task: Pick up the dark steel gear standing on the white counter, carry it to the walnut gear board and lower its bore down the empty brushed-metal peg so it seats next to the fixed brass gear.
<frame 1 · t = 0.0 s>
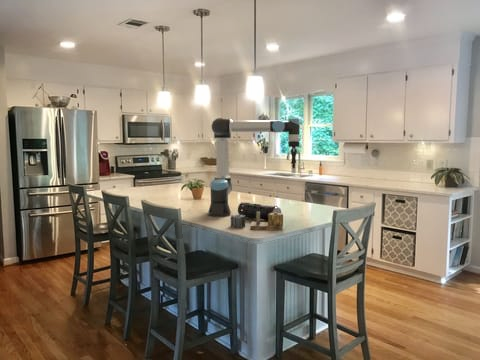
hand: (293, 172, 268), 28 cm above the table, fingers open, 13 cm apart
gear board: (266, 227, 225), on the table
muzzle brake: (259, 220, 247), on the table
steel gear: (238, 226, 230), on the table
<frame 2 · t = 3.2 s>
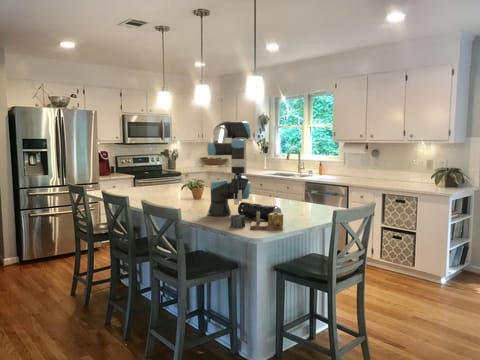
hand: (237, 202, 228), 14 cm above the table, fingers open, 13 cm apart
nothing on the table moved.
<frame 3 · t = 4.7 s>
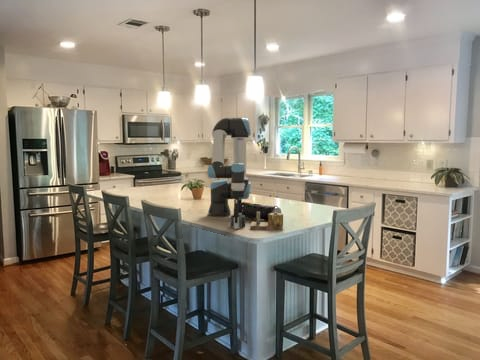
hand: (238, 226, 229), 0 cm above the table, fingers open, 13 cm apart
nothing on the table moved.
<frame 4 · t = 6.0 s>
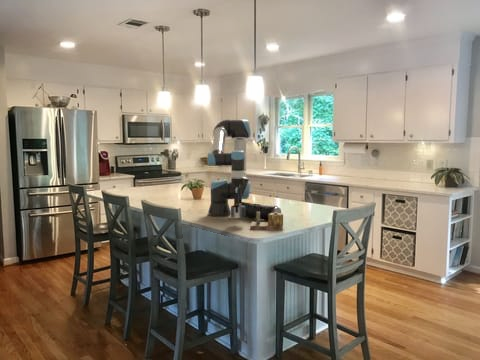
hand: (238, 215, 230), 6 cm above the table, fingers closed on steel gear, 8 cm apart
steel gear: (238, 216, 230), point 6 cm above the table, touching gripper
everything else where it was.
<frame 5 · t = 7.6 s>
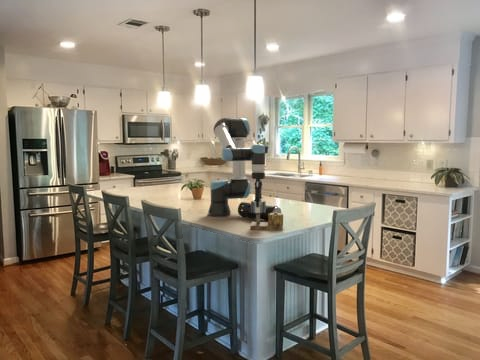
hand: (258, 211, 225), 9 cm above the table, fingers closed on steel gear, 8 cm apart
steel gear: (258, 211, 225), point 9 cm above the table, touching gripper
everything else where it was.
when the fingers open (2 cm above the table, at t = 9.1 s): steel gear stays where it is, resting on gear board.
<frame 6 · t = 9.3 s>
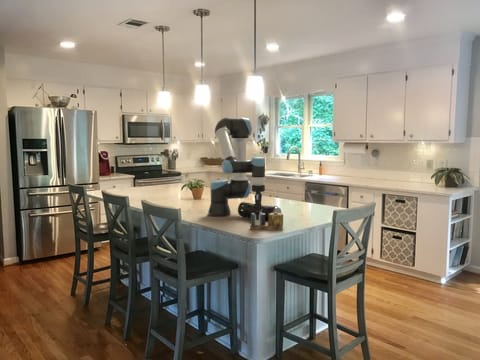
hand: (258, 223, 226), 2 cm above the table, fingers open, 8 cm apart
steel gear: (258, 224, 226), point 2 cm above the table, touching gear board
everything else where it was.
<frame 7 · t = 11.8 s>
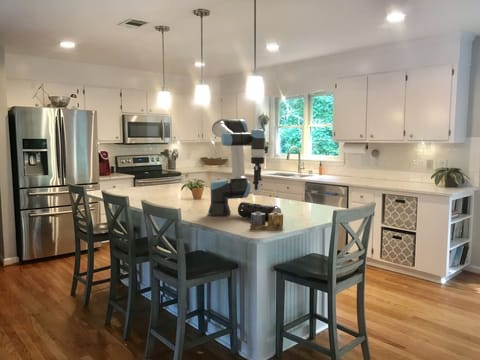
hand: (257, 193, 227), 19 cm above the table, fingers open, 13 cm apart
nothing on the table moved.
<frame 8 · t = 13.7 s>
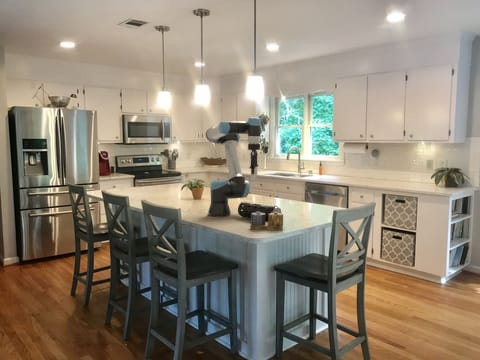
hand: (254, 178, 241), 27 cm above the table, fingers open, 13 cm apart
nothing on the table moved.
at the end: steel gear 0.1 cm from the target spot on the gear board, point 2.0 cm above the gear board's base; steel gear tilted 0°; the gripper is holding nothing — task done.
